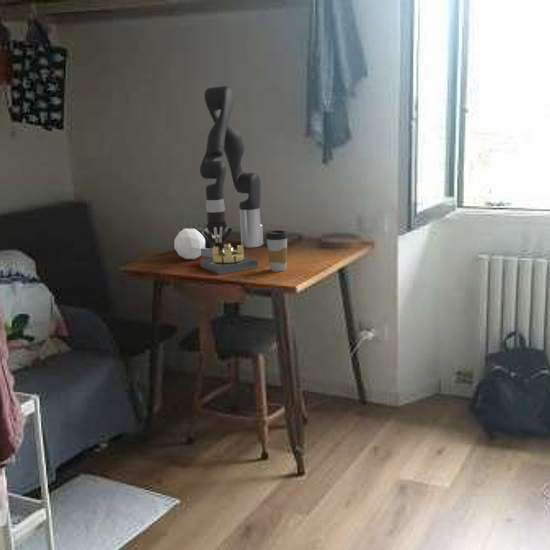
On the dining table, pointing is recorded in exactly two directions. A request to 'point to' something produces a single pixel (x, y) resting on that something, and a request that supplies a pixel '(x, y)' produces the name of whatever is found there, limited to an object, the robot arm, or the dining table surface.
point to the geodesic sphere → (189, 243)
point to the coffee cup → (277, 250)
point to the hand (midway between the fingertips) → (218, 251)
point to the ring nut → (228, 257)
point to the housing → (228, 264)
